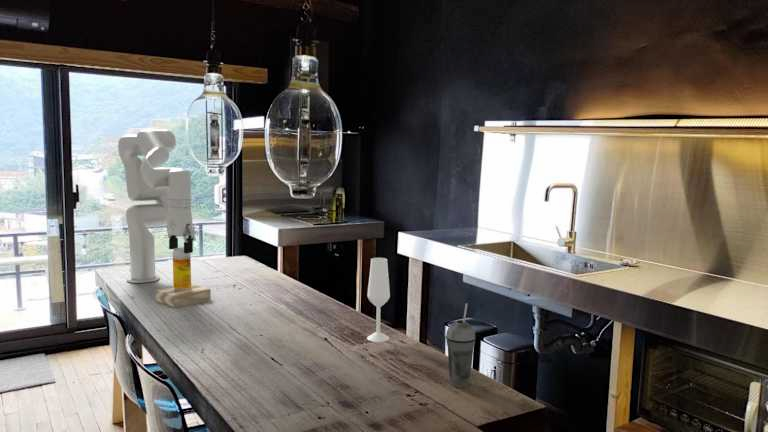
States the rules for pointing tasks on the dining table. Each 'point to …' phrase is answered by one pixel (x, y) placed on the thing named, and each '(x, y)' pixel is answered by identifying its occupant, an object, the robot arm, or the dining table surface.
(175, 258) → the beer can
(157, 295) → the birch plinth
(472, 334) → the beverage cup
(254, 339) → the dining table surface
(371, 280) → the champagne flute
